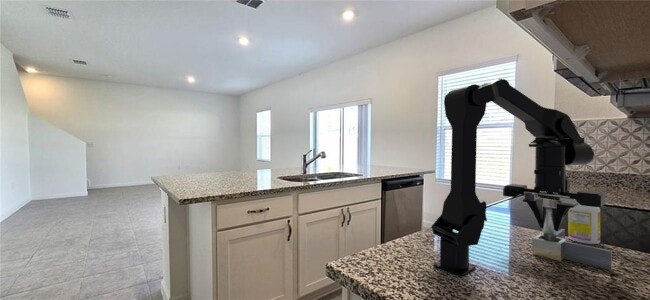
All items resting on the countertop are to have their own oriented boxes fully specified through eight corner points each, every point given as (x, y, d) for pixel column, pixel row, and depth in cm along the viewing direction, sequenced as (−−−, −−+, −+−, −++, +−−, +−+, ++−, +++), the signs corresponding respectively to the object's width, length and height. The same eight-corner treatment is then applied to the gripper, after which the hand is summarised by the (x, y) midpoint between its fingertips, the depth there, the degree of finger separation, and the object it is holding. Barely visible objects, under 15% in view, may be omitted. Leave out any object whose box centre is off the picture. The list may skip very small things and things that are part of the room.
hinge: (609, 273, 59) (609, 254, 59) (532, 254, 70) (532, 238, 69) (619, 255, 69) (619, 238, 68) (550, 241, 79) (550, 226, 79)
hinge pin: (554, 242, 67) (554, 208, 67) (541, 239, 69) (541, 206, 69) (557, 239, 69) (557, 207, 69) (544, 237, 71) (544, 205, 71)
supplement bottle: (586, 237, 82) (587, 193, 82) (607, 245, 75) (607, 197, 75) (562, 236, 83) (562, 193, 83) (580, 244, 76) (580, 197, 76)
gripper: (609, 166, 66) (608, 232, 67) (517, 162, 81) (517, 216, 81) (600, 168, 60) (600, 242, 60) (502, 164, 74) (502, 223, 74)
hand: (549, 229), depth 69 cm, fingers closed on hinge pin, 3 cm apart
